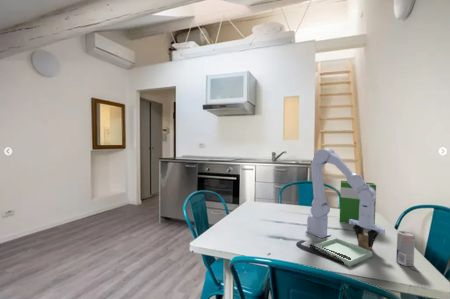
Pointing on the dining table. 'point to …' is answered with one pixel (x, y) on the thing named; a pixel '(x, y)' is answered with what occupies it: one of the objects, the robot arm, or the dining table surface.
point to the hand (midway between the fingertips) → (365, 244)
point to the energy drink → (405, 248)
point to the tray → (345, 251)
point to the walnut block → (364, 241)
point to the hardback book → (351, 202)
